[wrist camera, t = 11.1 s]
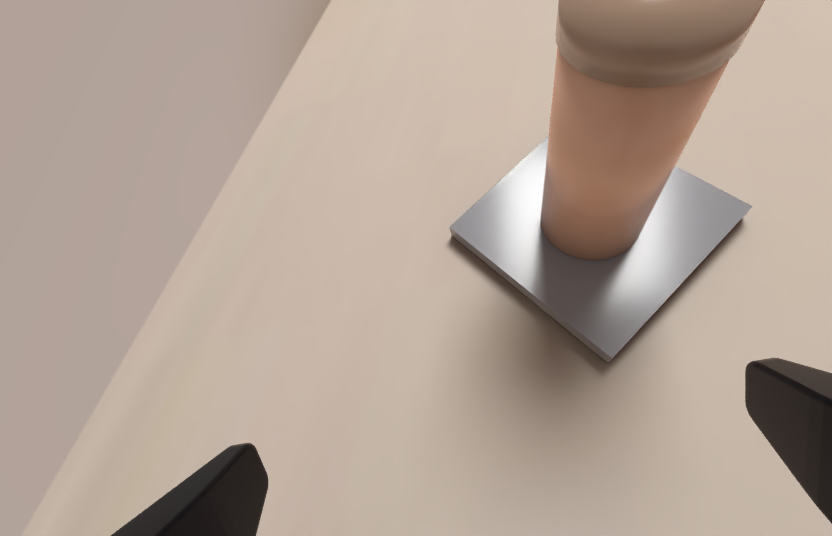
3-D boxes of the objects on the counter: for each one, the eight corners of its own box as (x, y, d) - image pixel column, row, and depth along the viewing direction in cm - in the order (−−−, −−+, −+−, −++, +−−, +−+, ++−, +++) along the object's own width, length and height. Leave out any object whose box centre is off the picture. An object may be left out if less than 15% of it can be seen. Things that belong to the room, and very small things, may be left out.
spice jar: (667, 235, 21) (824, -17, 10) (571, 278, 21) (630, 72, 11) (606, 164, 24) (682, -94, 13) (521, 202, 24) (526, -24, 13)
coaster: (743, 216, 22) (752, 206, 21) (608, 363, 20) (612, 358, 19) (571, 124, 27) (573, 112, 26) (451, 235, 25) (449, 227, 24)
